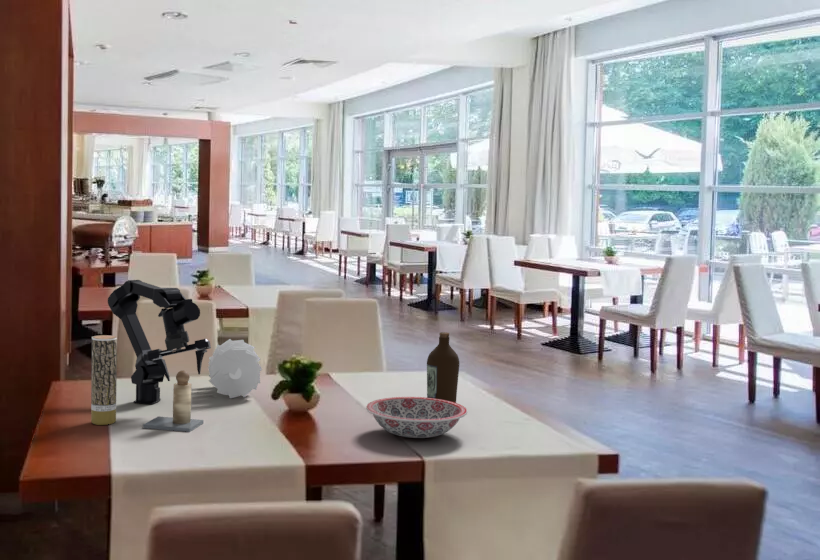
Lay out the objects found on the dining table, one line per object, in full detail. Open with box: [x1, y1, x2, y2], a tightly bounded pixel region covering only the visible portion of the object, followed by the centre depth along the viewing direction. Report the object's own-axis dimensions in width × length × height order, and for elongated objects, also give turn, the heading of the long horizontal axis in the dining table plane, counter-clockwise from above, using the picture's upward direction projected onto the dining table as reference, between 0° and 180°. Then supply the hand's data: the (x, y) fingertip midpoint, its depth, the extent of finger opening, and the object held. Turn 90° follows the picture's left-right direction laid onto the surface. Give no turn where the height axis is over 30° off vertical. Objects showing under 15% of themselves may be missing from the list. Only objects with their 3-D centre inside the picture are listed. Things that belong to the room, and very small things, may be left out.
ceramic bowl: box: [365, 396, 468, 439], centre depth 257 cm, size 29×29×8 cm
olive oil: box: [426, 331, 460, 403], centre depth 290 cm, size 11×11×25 cm
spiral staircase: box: [207, 338, 263, 399], centre depth 302 cm, size 18×18×25 cm
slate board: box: [142, 415, 204, 433], centre depth 257 cm, size 14×10×1 cm
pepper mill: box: [172, 370, 193, 424], centre depth 257 cm, size 5×5×15 cm
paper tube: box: [90, 334, 118, 426], centre depth 256 cm, size 7×7×25 cm
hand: (184, 377), depth 272 cm, fingers open, 9 cm apart
